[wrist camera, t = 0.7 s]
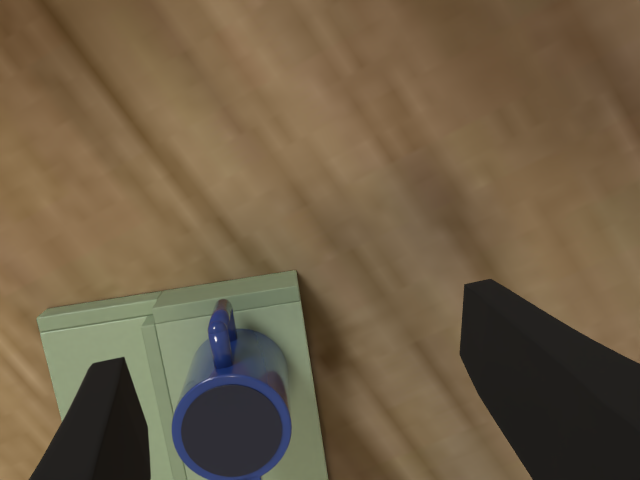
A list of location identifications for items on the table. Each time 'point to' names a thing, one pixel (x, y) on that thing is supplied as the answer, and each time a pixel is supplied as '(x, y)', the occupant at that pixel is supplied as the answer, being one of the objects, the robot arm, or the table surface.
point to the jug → (233, 403)
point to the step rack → (186, 358)
